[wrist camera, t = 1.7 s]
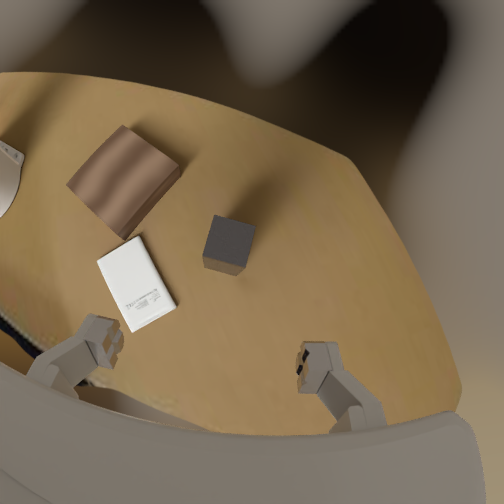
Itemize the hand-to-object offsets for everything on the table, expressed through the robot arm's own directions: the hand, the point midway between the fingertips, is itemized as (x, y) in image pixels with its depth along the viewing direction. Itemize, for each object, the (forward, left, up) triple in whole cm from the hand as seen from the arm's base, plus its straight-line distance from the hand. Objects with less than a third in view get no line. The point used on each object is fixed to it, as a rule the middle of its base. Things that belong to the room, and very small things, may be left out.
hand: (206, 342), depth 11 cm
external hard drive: (-12, -4, -30) cm, 33 cm away
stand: (-24, +7, -30) cm, 39 cm away
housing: (-3, +8, -30) cm, 31 cm away
